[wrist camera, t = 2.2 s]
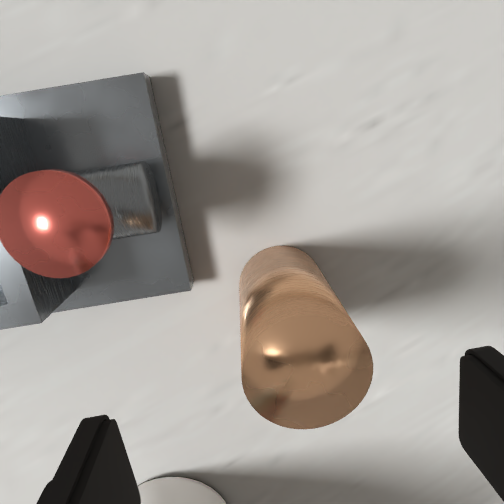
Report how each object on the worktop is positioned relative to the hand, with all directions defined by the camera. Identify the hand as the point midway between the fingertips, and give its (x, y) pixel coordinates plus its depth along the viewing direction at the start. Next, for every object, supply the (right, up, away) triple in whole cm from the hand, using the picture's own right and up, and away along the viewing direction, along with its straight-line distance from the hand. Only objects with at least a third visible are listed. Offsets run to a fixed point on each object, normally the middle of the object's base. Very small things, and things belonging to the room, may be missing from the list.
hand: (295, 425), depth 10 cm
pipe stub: (0, +3, +10) cm, 11 cm away
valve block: (-12, +7, +8) cm, 16 cm away
